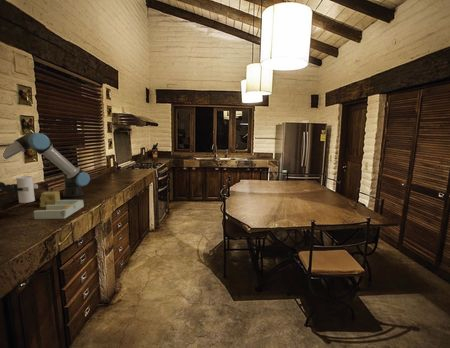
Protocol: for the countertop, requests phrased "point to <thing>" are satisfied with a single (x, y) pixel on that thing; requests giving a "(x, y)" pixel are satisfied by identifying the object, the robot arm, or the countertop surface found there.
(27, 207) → the countertop surface
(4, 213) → the countertop surface
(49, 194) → the cheese
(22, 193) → the cup
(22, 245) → the countertop surface
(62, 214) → the tray
